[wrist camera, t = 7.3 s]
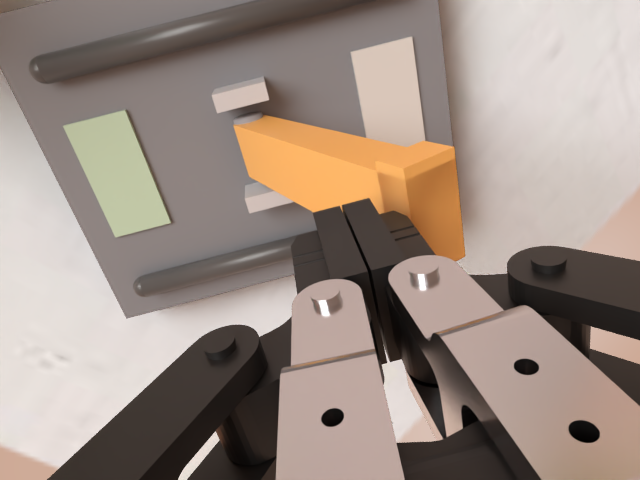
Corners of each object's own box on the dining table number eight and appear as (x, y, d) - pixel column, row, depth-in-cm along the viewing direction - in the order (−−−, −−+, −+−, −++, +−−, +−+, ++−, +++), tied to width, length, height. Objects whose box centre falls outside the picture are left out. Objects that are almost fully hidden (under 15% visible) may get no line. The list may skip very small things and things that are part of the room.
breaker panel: (411, -84, 23) (445, -105, 19) (446, 214, 30) (476, 245, 26) (3, 18, 23) (-51, 20, 19) (136, 295, 30) (117, 339, 26)
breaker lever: (256, 107, 23) (454, 146, 12) (274, 168, 25) (465, 256, 13) (226, 117, 23) (403, 168, 11) (246, 179, 24) (420, 280, 13)
